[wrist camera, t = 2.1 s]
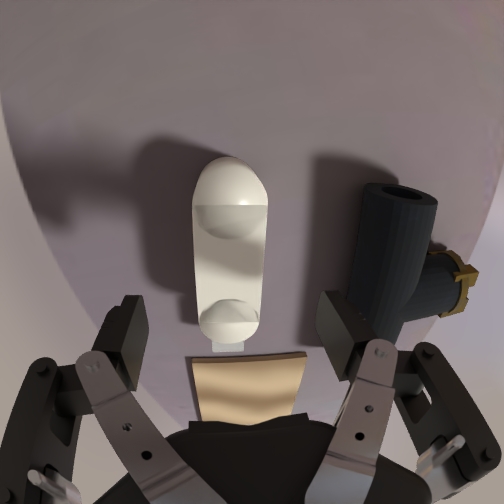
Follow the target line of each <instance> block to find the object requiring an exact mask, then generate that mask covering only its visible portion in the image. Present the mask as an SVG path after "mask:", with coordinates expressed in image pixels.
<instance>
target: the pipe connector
mask: <svg viewBox="0 0 504 504" xmlns="http://www.w3.org/2000/svg"><path fill="white" fill-rule="evenodd" d="M437 205H438V201H437V200H436V199H435V198H434V197H432V196H431V195H429V194H427V193H424V192H422V191H419V190H416V189H413V188H409V187H405V186H401V185H394V184H377V183H368V184H366V185H365V186H364V195H363V204H362V212H361V219H360V226H359V233H358V239H357V246H356V252H355V257H354V263H353V268H352V274H351V279H350V284H349V289H348V293H347V298H346V300H349V301H350V302H352V303H353V304H355V305H356V306H357V307H358V309H359V310H360V312H361V314H362V315H363V316H364V317H365V320H367V322H368V323H369V325H370V326H371V328H372V329H373V331H374V332H375V334H376V335H377V337H378V338H379V339H383V340H387V341H389V342H391V343H392V344H393V345H395V343H396V341H397V338H398V336H399V333H400V331H401V328H402V326H403V323H404V322H408V321H413V320H417V319H421V318H425V317H430V316H434V315H438V316H439V317H440V318H442V317H446V316H449V315H453V314H456V313H460V312H463V311H464V309H465V306H466V304H467V302H468V300H469V299H468V298H467V294H468V288H469V287H471V286H474V285H475V282H476V280H477V277H478V274H479V272H478V271H477V270H476V269H475V268H474V267H472V266H471V265H470V264H468V265H464V263H463V261H462V260H461V258H460V256H459V255H457V254H456V253H455V252H454V251H452V250H449V251H435V252H428V255H426V253H427V249H428V246H429V242H430V237H431V233H432V229H433V224H434V220H435V215H436V210H437Z"/></svg>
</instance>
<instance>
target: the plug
mask: <svg viewBox="0 0 504 504" xmlns="http://www.w3.org/2000/svg"><path fill="white" fill-rule="evenodd" d="M267 208H268V199H267V194H266V191H265V188H264V186H263V185H262V183H261V182H260V180H259V179H258V177H257V176H256V175H255V173H254V172H253V170H252V169H251V168H250V166H249V165H248V164H246V163H245V162H244V161H242V160H240V159H238V158H234V157H221V158H217V159H215V160H213V161H211V162H210V163H208V164H207V165H206V166H205V167H204V169H203V170H202V172H201V174H200V176H199V179H198V182H197V185H196V188H195V192H194V195H193V200H192V218H193V243H194V263H195V279H196V293H197V306H198V318H199V326H200V329H201V331H202V332H203V334H204V335H205V336H206V337H208V338H209V339H211V340H212V347H213V352H234V351H244V340H246V339H247V338H249V337H250V336H251V335H253V333H254V332H255V331H256V329H257V328H258V325H259V316H260V303H261V291H262V278H263V264H264V251H265V237H266V223H267Z"/></svg>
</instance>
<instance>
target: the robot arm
mask: <svg viewBox="0 0 504 504" xmlns="http://www.w3.org/2000/svg"><path fill="white" fill-rule="evenodd" d="M315 327H316V331H317V333H318V335H319V337H320V340H321V342H322V344H323V346H324V348H325V351H326V353H327V355H328V357H329V359H330V362H331V364H332V366H333V368H334V370H335V373H336V375H337V377H338V379H339V382H340V381H345V380H349V382H350V385H349V388H348V390H347V393H346V395H345V398H344V400H343V403H342V405H341V407H340V410H339V412H338V414H337V417H336V419H335V421H334V423H333V425H330V424H327V423H324V422H320V421H314V420H309V418H308V415H307V413H301V414H294V415H287V416H279V417H276V418H273V419H270V420H267V421H264V422H261V423H258V424H254V425H249V426H248V425H240V424H234V423H228V422H222V421H189V429H185V430H181V431H178V432H176V433H173V434H171V435H169V436H168V437H166V438H164V437H163V436H162V434H161V433H160V432H159V431H158V429H157V428H156V427H155V425H154V424H153V423H152V421H151V420H150V419H149V417H148V416H147V415H146V413H145V412H144V410H143V409H142V408H141V406H140V405H139V403H138V402H137V400H136V399H135V397H134V396H133V394H132V393H131V392H130V391H136V389H137V384H138V379H139V375H140V370H141V365H142V361H143V356H144V352H145V347H146V343H147V339H148V334H149V325H148V319H147V315H146V310H145V305H144V300H143V297H142V295H125V297H124V299H123V301H122V303H121V306H114V307H113V308H112V309H111V310H110V311H109V312H108V313H107V315H106V317H105V319H104V322H103V324H102V326H101V329H100V331H99V333H98V335H97V338H96V340H95V342H94V345H93V347H92V349H91V351H89V352H86V353H84V354H82V355H81V356H80V357H79V358H78V359H77V361H76V364H72V365H66V366H57V364H56V362H55V361H54V360H53V359H51V358H48V357H43V358H39V359H37V360H36V361H34V362H33V363H32V364H31V366H30V367H29V369H28V372H27V374H26V376H25V379H24V381H23V383H22V386H21V388H20V391H19V393H18V396H17V398H16V401H15V404H14V407H13V409H12V412H11V415H10V418H9V421H8V424H7V427H6V430H5V433H4V437H3V440H2V444H1V447H0V504H82V503H81V496H80V492H79V490H78V489H77V488H76V486H75V485H74V484H73V483H72V474H73V466H74V458H75V453H76V446H77V440H78V435H79V429H80V424H81V420H82V415H87V414H95V416H96V418H97V420H98V422H99V424H100V426H101V428H102V430H103V431H104V433H105V435H106V437H107V439H108V440H109V442H110V444H111V445H112V447H113V449H114V450H115V452H116V454H117V455H118V457H119V458H120V460H121V462H122V463H123V465H124V466H125V468H126V469H127V471H128V473H127V474H126V475H125V476H124V477H122V478H121V479H120V480H119V481H118V482H117V483H116V484H115V485H114V486H113V487H111V488H110V489H109V490H108V491H107V492H106V493H105V494H104V495H103V496H101V497H100V498H99V499H98V500H97V501H95V502H94V503H93V504H433V503H435V502H437V501H439V500H440V499H448V498H450V497H452V496H454V495H456V494H457V493H459V492H461V491H462V490H464V489H466V488H467V487H469V486H470V485H472V484H473V483H475V482H476V481H478V480H479V479H481V478H482V477H484V476H485V475H487V474H488V473H489V472H491V471H492V470H493V469H495V468H496V467H497V466H498V464H499V463H500V460H501V449H500V446H499V444H498V442H497V440H496V439H495V437H494V435H493V433H492V431H491V429H490V428H489V426H488V424H487V422H486V421H485V419H484V417H483V415H482V414H481V412H480V410H479V409H478V407H477V405H476V404H475V403H474V401H473V399H472V397H471V396H470V394H469V393H468V391H467V389H466V388H465V386H464V385H463V383H462V382H461V380H460V379H459V377H458V376H457V374H456V373H455V371H454V370H453V368H452V367H451V365H450V364H449V363H448V361H447V360H446V358H445V357H444V356H443V354H442V353H441V351H440V350H439V349H438V348H437V347H436V346H435V345H433V344H431V343H428V342H420V343H418V344H417V345H416V346H415V348H414V350H413V351H399V350H397V348H396V347H395V346H394V345H393V344H392V343H391V342H389V341H387V340H383V339H379V338H378V337H377V335H376V334H375V332H374V331H373V329H372V328H371V326H370V325H369V323H368V322H367V320H365V317H364V316H363V315H362V314H361V312H360V310H359V309H358V307H357V306H356V305H355V304H353V303H352V302H350V301H349V300H344V298H343V297H342V295H341V294H340V292H339V291H338V290H333V291H322V292H321V293H320V297H319V302H318V307H317V312H316V316H315ZM424 386H425V388H426V390H427V392H428V393H429V395H430V397H431V401H432V404H430V402H429V401H428V399H427V397H426V395H425V393H424V392H423V390H422V389H423V388H424ZM393 399H394V401H395V404H396V406H397V408H398V410H399V412H400V414H401V416H402V419H403V421H404V423H405V425H406V427H407V430H408V432H409V434H410V437H411V439H412V441H413V443H414V446H415V448H416V450H417V453H418V455H419V458H418V460H417V469H416V472H415V473H414V472H412V471H410V470H408V469H406V468H404V467H402V466H401V465H399V464H397V463H395V462H393V461H391V460H390V459H388V458H386V457H384V456H382V455H381V454H379V451H380V448H381V445H382V441H383V437H384V435H385V431H386V427H387V423H388V420H389V416H390V412H391V408H392V403H393Z"/></svg>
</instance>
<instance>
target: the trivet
mask: <svg viewBox="0 0 504 504" xmlns="http://www.w3.org/2000/svg"><path fill="white" fill-rule="evenodd" d="M306 360H307V354H306V352H302V353H292V354H281V355H269V356H254V357H233V358H192V367H193V373H194V379H195V385H196V390H197V396H198V401H199V407H200V412H201V417H202V421H222V422H228V423H234V424H240V425H250V424H258V423H261V422H264V421H267V420H270V419H273V418H276V417H279V416H287V415H290V414H291V411H292V408H293V405H294V402H295V398H296V395H297V392H298V388H299V385H300V382H301V378H302V375H303V371H304V367H305V364H306Z"/></svg>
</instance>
